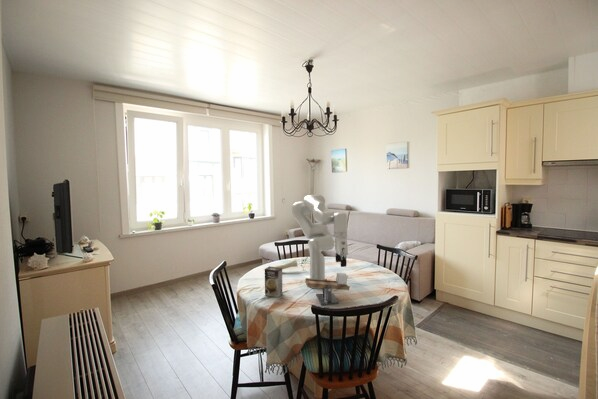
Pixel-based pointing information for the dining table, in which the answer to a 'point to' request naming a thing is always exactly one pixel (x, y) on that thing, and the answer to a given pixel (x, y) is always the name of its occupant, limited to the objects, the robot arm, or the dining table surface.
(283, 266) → the flower vase
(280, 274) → the coffee box
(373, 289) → the dining table surface
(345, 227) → the robot arm
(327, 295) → the pivot stand
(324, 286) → the beam
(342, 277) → the rider
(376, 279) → the dining table surface
